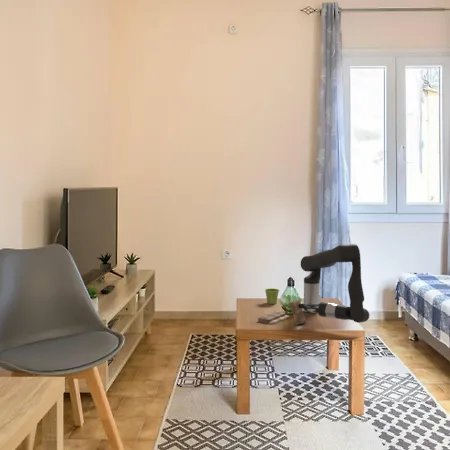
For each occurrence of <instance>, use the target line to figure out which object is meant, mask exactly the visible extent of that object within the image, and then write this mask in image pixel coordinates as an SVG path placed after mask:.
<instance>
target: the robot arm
mask: <svg viewBox="0 0 450 450" xmlns="http://www.w3.org/2000/svg"><path fill="white" fill-rule="evenodd" d="M361 261H362V260H361V251H360V248H359V246H358V244H356V243H344V244H343V243H342V244H339V245H337V246H335V247H333V248H330V249H326V250H323V251H321V252H317V253H315V254H312V255H306V256H303V257H302V258H301V259H300V268H301V269H302V270H303V271H304V272H307V273H308V272H311V273H310V274H308V275H306V276H305V277H304V278H303V303H301V304H299V308H302V310H303V312H305V313H309V314H312V313H313V314H317V313H318V316H319V317H322V318H323V317H324V318H327V319H338V320H345V321H346V320H347V321H348V320H350V321H353V322H355V323H359V324H360V323H365V322H367V321H368V320H369V318H370V312H369V311H368V309H366V308H364V302H365V294H364V289H363V284H362V270H361V269H362V268H361V267H362V264H361V263H362V262H361ZM337 263H351V265H352V266H351V267H352V270H351V274H350V277H349V279H348V280H349V281H348V284H347V291H348V296H349V306H347V305H341V304H336V303H333V302H326V301H321V294H320V281H321V271H322V269H326V268H330V267H333V266H335V265H336V264H337Z"/></svg>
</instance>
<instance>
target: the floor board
mask: <svg viewBox="0 0 450 450" xmlns="http://www.w3.org/2000/svg"><path fill="white" fill-rule="evenodd" d="M289 318H290V315H287V314H286V313H285V312H280V311H273V312H270V313H268V314H264V315H262V316H260V317H258V318H257V322H258V323H263V324H264V323H265V324H269V325H270V324H271V325H274V324H276V323H279V322H281V321H284V320H286V319H289Z"/></svg>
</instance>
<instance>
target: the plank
mask: <svg viewBox="0 0 450 450" xmlns="http://www.w3.org/2000/svg"><path fill="white" fill-rule="evenodd" d="M299 304H302V303H301V300H300V299H297V300H294V301H291V302H289V305H290V308H291V312H292V316H293V318H294V319H293V320H294V323H295V326H296V325H301V324H304V323H306V321H307V320H306V317H305V314H304V309H302V308H299Z"/></svg>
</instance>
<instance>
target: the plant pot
mask: <svg viewBox="0 0 450 450" xmlns="http://www.w3.org/2000/svg"><path fill="white" fill-rule="evenodd" d="M264 291H265V295H266V303H267V304H268V305H271V304H272V305H276V304H277V302H278V296H279V292H280V289H278V288H266V289H265V288H264Z"/></svg>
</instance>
